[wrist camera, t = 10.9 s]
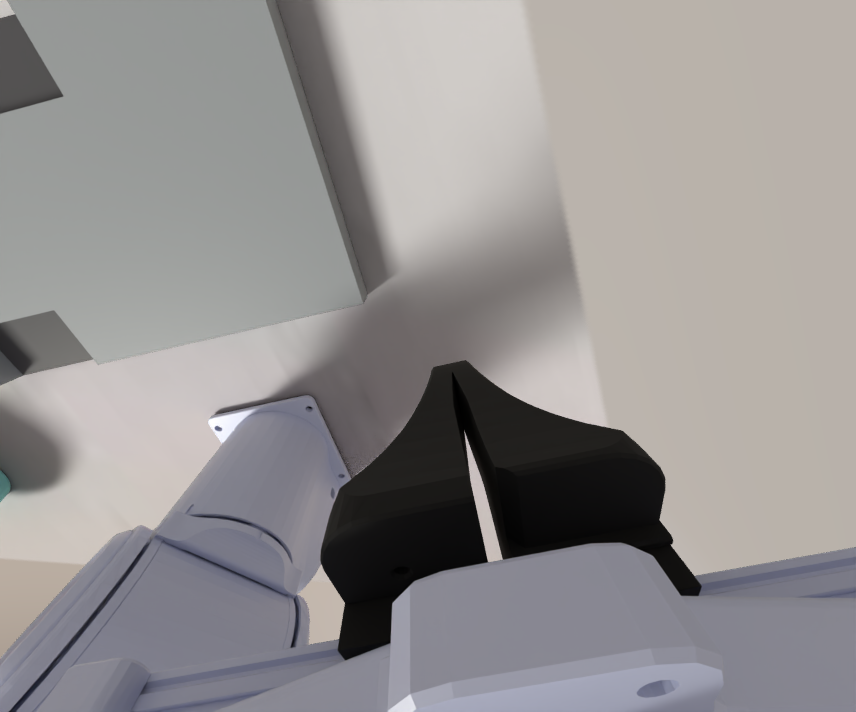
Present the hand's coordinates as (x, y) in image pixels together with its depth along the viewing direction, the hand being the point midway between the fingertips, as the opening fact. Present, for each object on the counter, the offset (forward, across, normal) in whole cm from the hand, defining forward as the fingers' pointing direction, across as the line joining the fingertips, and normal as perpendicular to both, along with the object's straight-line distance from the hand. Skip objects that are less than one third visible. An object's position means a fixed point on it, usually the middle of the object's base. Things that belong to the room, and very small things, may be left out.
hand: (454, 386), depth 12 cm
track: (+9, +19, -10) cm, 23 cm away
